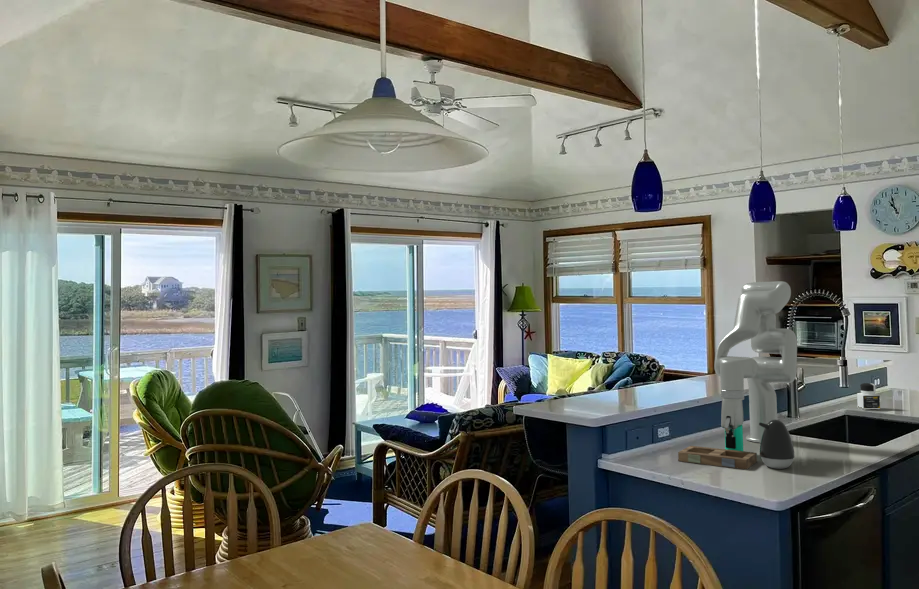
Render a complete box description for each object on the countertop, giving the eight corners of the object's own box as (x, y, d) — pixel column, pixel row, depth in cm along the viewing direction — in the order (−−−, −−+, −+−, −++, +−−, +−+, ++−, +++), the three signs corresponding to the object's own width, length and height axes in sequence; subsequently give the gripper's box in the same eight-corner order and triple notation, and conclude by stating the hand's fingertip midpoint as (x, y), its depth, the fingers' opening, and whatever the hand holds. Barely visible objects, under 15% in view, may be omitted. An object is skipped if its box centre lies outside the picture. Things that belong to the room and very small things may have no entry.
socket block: (691, 454, 240) (690, 445, 240) (756, 461, 226) (756, 452, 227) (678, 461, 230) (677, 452, 230) (746, 469, 217) (745, 460, 217)
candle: (721, 454, 238) (720, 420, 238) (734, 452, 241) (733, 418, 241) (734, 457, 233) (733, 422, 233) (747, 455, 235) (746, 420, 235)
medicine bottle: (863, 410, 316) (862, 384, 316) (857, 408, 323) (856, 382, 323) (880, 410, 315) (879, 384, 315) (873, 407, 322) (872, 382, 322)
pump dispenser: (754, 463, 224) (752, 417, 224) (786, 462, 224) (784, 416, 224) (767, 471, 214) (765, 422, 214) (800, 470, 214) (799, 422, 214)
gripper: (729, 391, 246) (730, 440, 246) (713, 397, 233) (715, 449, 232) (750, 392, 241) (752, 442, 241) (736, 398, 228) (737, 452, 228)
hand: (734, 445), depth 237 cm, fingers open, 6 cm apart
